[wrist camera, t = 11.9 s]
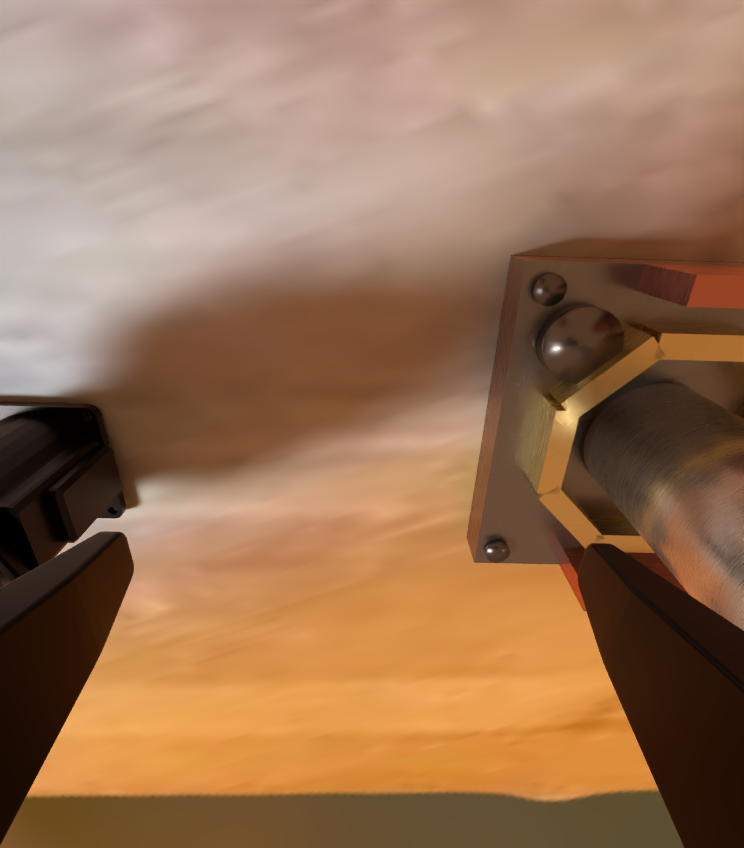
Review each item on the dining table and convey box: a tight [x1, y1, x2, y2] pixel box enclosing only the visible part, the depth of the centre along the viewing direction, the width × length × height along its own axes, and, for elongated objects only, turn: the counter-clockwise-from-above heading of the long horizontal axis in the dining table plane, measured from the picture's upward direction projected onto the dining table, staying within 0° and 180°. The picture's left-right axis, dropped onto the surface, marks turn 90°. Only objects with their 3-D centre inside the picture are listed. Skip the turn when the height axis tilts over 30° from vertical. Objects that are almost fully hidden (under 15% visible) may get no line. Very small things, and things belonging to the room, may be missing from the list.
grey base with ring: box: [467, 255, 744, 611], centre depth 20 cm, size 12×15×5 cm
